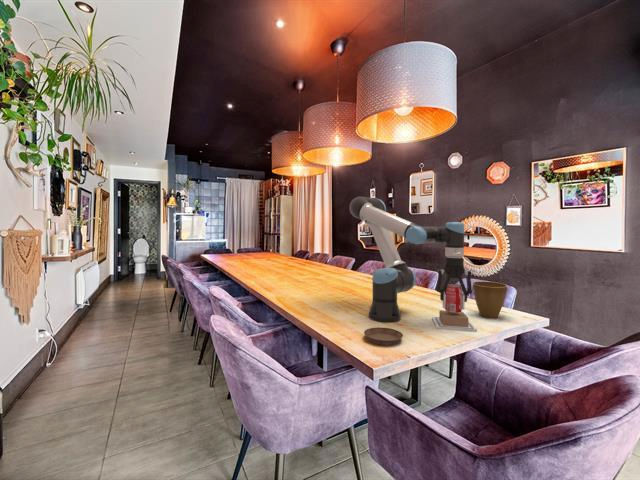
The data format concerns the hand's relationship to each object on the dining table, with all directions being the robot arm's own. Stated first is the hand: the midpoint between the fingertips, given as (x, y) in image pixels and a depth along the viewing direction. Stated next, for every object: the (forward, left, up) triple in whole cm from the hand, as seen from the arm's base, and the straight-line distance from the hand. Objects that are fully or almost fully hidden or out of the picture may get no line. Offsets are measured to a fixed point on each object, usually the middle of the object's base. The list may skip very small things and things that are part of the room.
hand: (453, 308), depth 132 cm
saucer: (-30, -25, -8) cm, 40 cm away
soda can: (0, 0, -2) cm, 2 cm away
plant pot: (+20, +19, -8) cm, 29 cm away
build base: (0, 0, -8) cm, 8 cm away
